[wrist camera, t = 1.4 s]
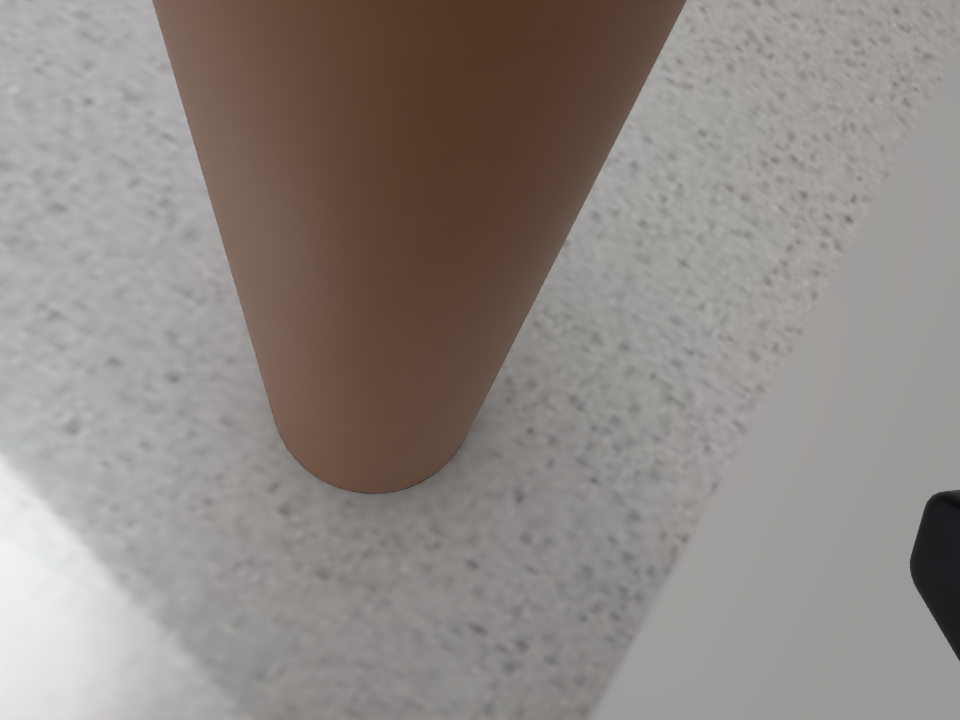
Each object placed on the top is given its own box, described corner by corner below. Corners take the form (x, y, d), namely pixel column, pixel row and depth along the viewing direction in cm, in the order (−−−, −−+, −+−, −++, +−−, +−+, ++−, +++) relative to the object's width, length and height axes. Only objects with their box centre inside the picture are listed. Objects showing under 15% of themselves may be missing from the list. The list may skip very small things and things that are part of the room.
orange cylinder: (499, 474, 21) (1639, -1001, 2) (285, 518, 20) (-543, -1530, 1) (453, 284, 23) (941, -1499, 4) (252, 315, 22) (-346, -1929, 3)
